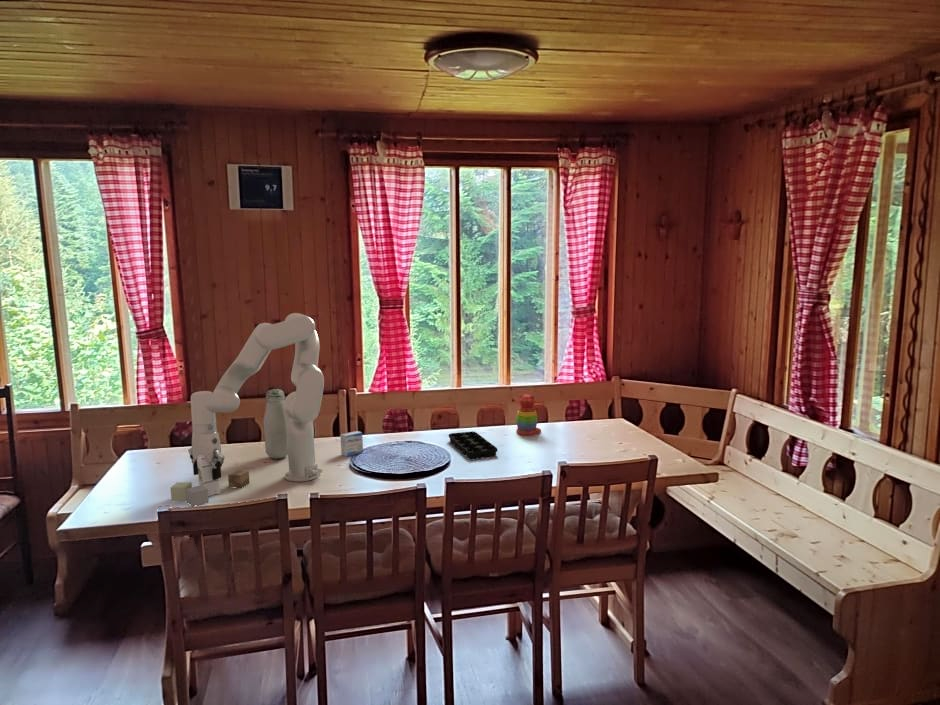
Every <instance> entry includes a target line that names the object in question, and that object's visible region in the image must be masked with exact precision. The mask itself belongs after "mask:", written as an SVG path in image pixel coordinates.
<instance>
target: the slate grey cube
mask: <svg viewBox="0 0 940 705" xmlns="http://www.w3.org/2000/svg"><path fill="white" fill-rule="evenodd" d="M186 499H187V502H186V504H187V503H189V504H191V505H190V506H191V507H193V506H195V505H200V506H203V505H206V504H208V502H209V501H210V500H209V496H208V488H205V487H203V486H201V485H199V484H198V485H196V486H192V488H189V489H186ZM205 503H206V504H205ZM209 503H210V502H209ZM189 504H188V505H189Z"/></svg>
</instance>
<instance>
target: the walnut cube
mask: <svg viewBox="0 0 940 705" xmlns="http://www.w3.org/2000/svg"><path fill="white" fill-rule="evenodd" d="M227 479H228V480H227V481H228V488H229V487H236V488H235V489H238V488H242V487H243V488H245V487H247V486H248V484H249V483H250V482H251V481H250V472H249V470H245V469H235V470H233V471H231V472H230V473H228V474H227ZM246 485H247V486H246ZM249 485H250V484H249ZM244 486H245V487H244ZM243 488H242V489H243Z"/></svg>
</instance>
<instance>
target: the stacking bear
mask: <svg viewBox="0 0 940 705" xmlns="http://www.w3.org/2000/svg"><path fill="white" fill-rule="evenodd" d="M535 402H536V401H535V395H533V394H527V393H525V394H523V393H522V394H520V395H519V405H520V406H519V408H518V410H517V413H516V418H515V419H516V420H515V421H516V426H517V428H516V431H515V432H516V434H517V435H518V436H522V437H532V436H537V435H539V434H540V433H541V432H542V430H541V428H539V427H537V424H538V414H537V411H536V408H535V407H534V405H535Z"/></svg>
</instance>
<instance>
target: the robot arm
mask: <svg viewBox="0 0 940 705" xmlns="http://www.w3.org/2000/svg"><path fill="white" fill-rule="evenodd" d="M320 343H321V342H320V338H319V336H318V333H317V331H316V323H315V321H314V319H312V317H310V316H308V315H305V314H303V313H298V312H293V313H290V314H288V315H287V316H286V317H285V318H284V320H283V321H281V322H280V321H279V322H277V323H273V324H272V323H269V322H262V323H259V324H258V325H257V326H255V328H254V329H253V331H252V333H251V334H250V336H249V337H248V339H247V341H246V343H245V344H244V346H243V347H242V349H241V350H240V352H239V354H237V355H238V356H237V357H236V358H235V360H234V361H233V362H232V364H231V365H230V366H229V367H228V368H227V369H226V371H225V372H224V374H223V375H222V377H221V378H220V379H219V381H218V383H217V385H216V387H215V388H214V390H213V392H212V391H210V390H201V391H200V390H199V391H196V392H194V393H192V394H191V395H190V408H191V409H190V410H191V412H190V413H191V427H192V435H191V436H192V437H191V447H190V448H189V449H188V455H189V458H190V460H191V464H192V468H193V469H192V470H193V471H192V472H193V476H197V475H198V466H197V460H198V456H199V455H202V456H204V457H205V460H206V462H210V463H211V465H212V467H213V468H212V479H213V480H216V479H219V480H220V479H221V478H222V467H223V464H224V461H225V457H226V456H225V455H223V453H222V445H221V441H220V434H219V432H218V431H217V418H216V417H217V416H216V413H223V414H226V413H227V414H229V413H233V412H235V411H236V410H237V409H239V407H240V404H241V399H240V397H239V395H238V392H239V391H240V389H241V387H242V386H243V384H244V383H245V382H246V381H247V379H249V378H250V377H251V376H253V375H255V374H256V373H258V372H259V371H260V370H261V368H262V366H263V365H264V363H265V361H266V360H267V358H268V356H269V355H270V353H271V351H272V350H277V349H280V348H281V349H282V348H284V347H288V346H291V345H295V349H294V358H293V363H292V370H291V374H290V379H291V382H292V384H293V385H294V386H295V387H296V389H295V391H293V392H290V393H289V394H288V395H286V396H285V399H284V414H285V420H286V428H287V445H288V455H287V458H288V459H287V460H288V471H287V472H286V473H285V474H284V478H285V480H286V481H290V482H295V483H296V482H300V483H301V482H308V481H311V480H314V479H317V478H319V477H320V476H321V474H322V473H323V469H322V468H318V463H316V454H315V453H316V451H315V436H314V435H315V433H314V432H315V431H314V428H315V427H314V421H315V420H316V419H317V417H318V416H319V413H320V411H321V404H322V400H323V393H324V389H325V388H324V387H325V376H324V374H323V372H322V370H321V369H320V368H319V357H320V349H321V346H320ZM214 455H216V459H212V458H214ZM215 461H216V462H217V463H216V464H215V463H214V462H215Z"/></svg>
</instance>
